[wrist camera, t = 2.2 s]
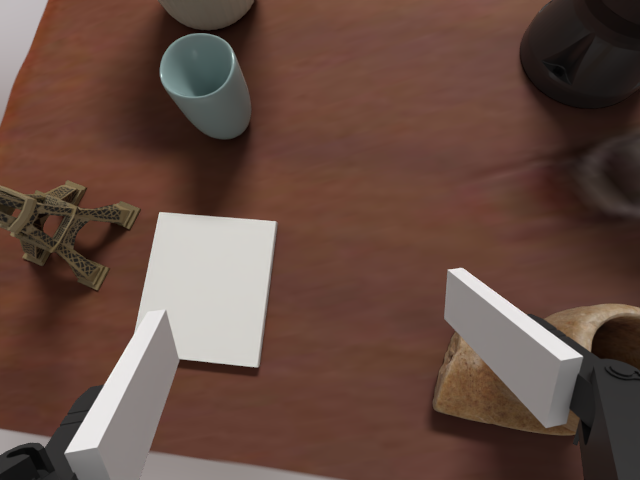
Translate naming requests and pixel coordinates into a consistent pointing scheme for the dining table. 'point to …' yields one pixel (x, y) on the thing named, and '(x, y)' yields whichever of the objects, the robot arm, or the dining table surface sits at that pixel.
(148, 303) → the mat
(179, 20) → the canister
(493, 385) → the stone cup
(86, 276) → the eiffel tower
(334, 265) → the dining table surface
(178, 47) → the cup
